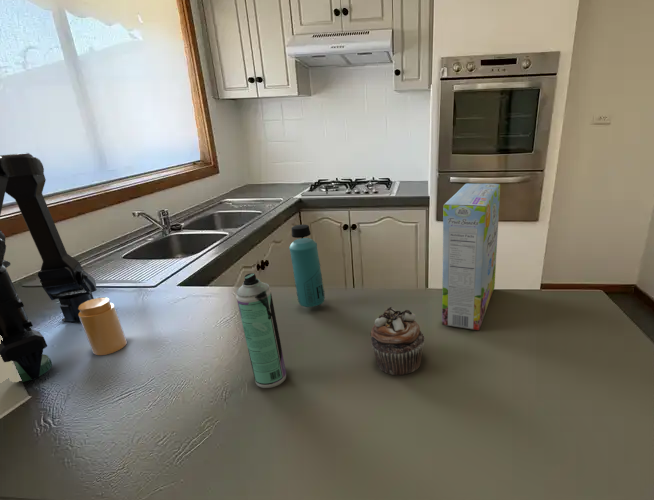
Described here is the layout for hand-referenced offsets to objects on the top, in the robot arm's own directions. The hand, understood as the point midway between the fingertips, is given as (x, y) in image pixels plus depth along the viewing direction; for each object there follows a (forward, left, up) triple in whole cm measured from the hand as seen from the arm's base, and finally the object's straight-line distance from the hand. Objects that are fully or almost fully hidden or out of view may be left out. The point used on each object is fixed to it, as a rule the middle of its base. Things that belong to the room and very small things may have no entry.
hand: (31, 371), depth 81 cm
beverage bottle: (-32, +46, -1) cm, 56 cm away
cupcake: (-11, +70, -1) cm, 71 cm away
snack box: (-34, +83, -1) cm, 90 cm away
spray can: (-4, +48, -1) cm, 48 cm away
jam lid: (0, 0, +1) cm, 1 cm away
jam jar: (-11, +8, -1) cm, 14 cm away
